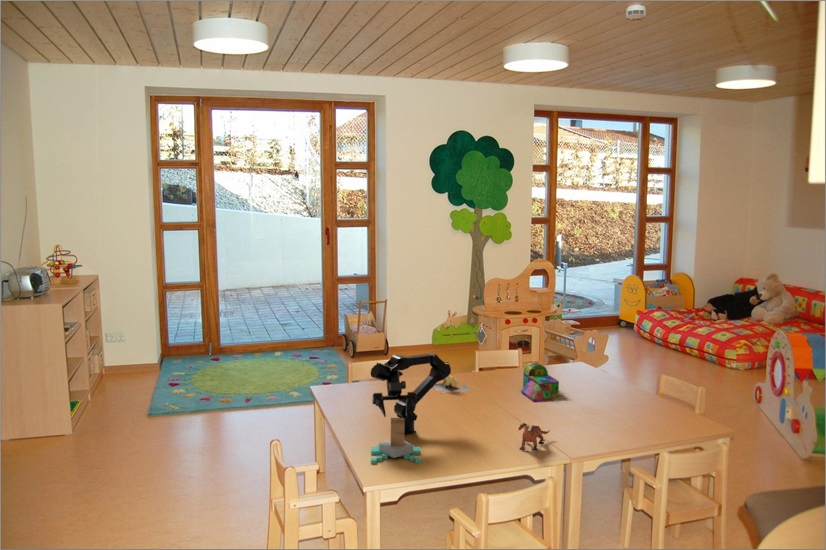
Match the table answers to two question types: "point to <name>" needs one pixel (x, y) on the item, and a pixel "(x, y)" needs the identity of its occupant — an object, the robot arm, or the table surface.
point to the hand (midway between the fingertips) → (396, 416)
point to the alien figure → (384, 456)
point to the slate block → (395, 449)
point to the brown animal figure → (531, 436)
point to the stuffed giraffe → (449, 384)
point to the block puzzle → (539, 383)
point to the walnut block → (397, 431)
